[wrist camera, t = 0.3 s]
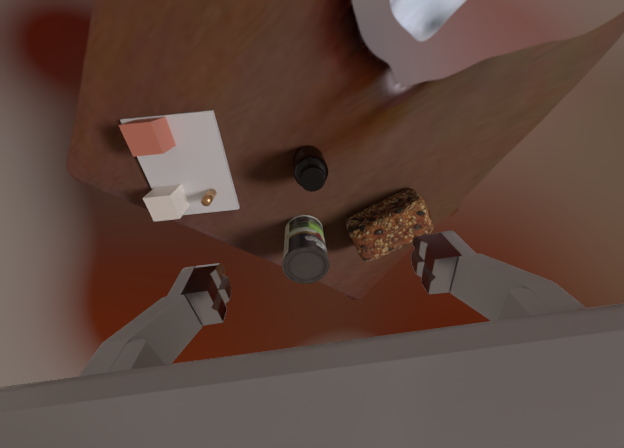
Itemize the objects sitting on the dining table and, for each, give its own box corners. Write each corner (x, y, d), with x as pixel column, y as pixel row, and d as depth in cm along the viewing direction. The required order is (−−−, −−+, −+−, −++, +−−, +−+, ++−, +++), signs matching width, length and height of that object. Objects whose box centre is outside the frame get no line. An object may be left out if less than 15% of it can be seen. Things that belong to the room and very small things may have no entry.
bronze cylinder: (206, 189, 57) (199, 198, 52) (215, 188, 57) (208, 197, 53) (209, 196, 58) (202, 206, 54) (217, 196, 58) (211, 205, 54)
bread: (357, 244, 70) (366, 268, 61) (341, 216, 64) (349, 238, 56) (421, 216, 66) (440, 237, 57) (410, 183, 61) (429, 201, 52)
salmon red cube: (136, 119, 48) (118, 125, 43) (165, 116, 48) (150, 121, 43) (149, 148, 51) (133, 156, 46) (176, 145, 51) (163, 153, 46)
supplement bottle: (298, 177, 58) (299, 200, 48) (289, 149, 54) (288, 167, 44) (326, 170, 57) (333, 191, 47) (319, 140, 54) (325, 157, 44)
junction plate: (122, 119, 49) (119, 119, 48) (213, 110, 49) (212, 110, 48) (166, 214, 61) (164, 216, 60) (239, 207, 61) (238, 209, 60)
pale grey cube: (156, 186, 56) (142, 198, 51) (181, 184, 56) (169, 195, 51) (166, 208, 59) (153, 221, 54) (189, 206, 59) (179, 218, 54)
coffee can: (301, 207, 62) (304, 239, 50) (331, 229, 66) (339, 264, 54) (276, 233, 66) (272, 269, 54) (305, 252, 70) (307, 290, 58)
